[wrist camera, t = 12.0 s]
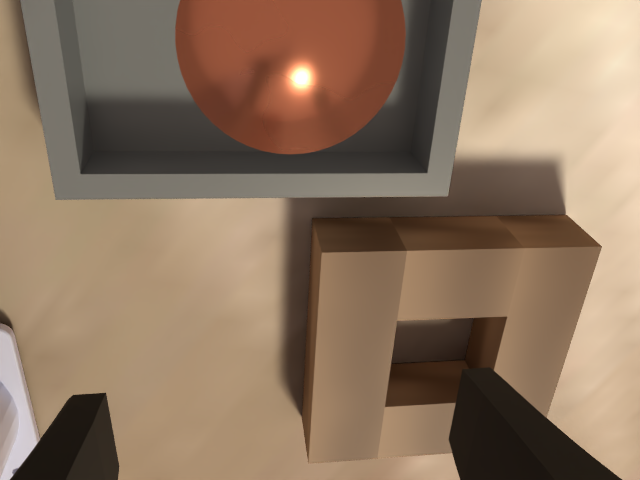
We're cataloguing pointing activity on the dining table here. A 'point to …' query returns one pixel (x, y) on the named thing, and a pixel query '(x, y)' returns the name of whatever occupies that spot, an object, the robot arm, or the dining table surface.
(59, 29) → the tray
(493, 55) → the dining table surface
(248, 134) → the pin
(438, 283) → the pin block
